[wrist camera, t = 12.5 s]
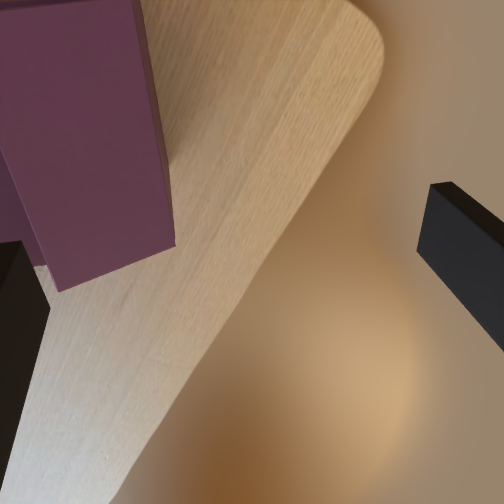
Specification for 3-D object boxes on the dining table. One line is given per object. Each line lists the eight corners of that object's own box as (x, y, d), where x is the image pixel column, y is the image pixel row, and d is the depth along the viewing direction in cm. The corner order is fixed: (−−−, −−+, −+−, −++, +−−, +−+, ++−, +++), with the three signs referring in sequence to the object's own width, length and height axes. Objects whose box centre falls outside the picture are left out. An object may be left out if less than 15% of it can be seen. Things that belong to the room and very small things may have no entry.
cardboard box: (136, -23, 28) (130, -6, 18) (169, 168, 35) (176, 246, 26) (-106, -6, 26) (-244, 21, 17) (-16, 191, 33) (-78, 283, 24)
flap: (127, -5, 19) (130, -5, 18) (173, 243, 26) (176, 246, 26) (-54, 15, 16) (-53, 16, 15) (56, 289, 23) (58, 293, 23)
